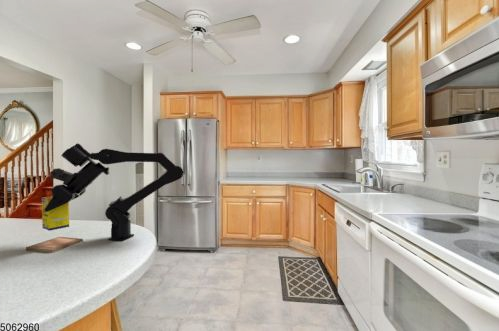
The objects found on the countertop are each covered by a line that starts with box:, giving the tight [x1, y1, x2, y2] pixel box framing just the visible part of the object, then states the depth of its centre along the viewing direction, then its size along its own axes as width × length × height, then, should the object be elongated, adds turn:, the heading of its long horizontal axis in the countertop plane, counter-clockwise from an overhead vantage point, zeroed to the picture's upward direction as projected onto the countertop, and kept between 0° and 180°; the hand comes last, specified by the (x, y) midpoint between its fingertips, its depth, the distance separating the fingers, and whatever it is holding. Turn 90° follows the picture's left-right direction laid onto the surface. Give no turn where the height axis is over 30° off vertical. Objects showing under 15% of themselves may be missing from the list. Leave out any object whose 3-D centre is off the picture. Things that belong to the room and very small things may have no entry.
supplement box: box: [41, 195, 70, 232], centre depth 83 cm, size 6×6×11 cm
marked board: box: [25, 236, 84, 254], centre depth 83 cm, size 11×11×1 cm
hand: (50, 208), depth 83 cm, fingers closed on supplement box, 8 cm apart
